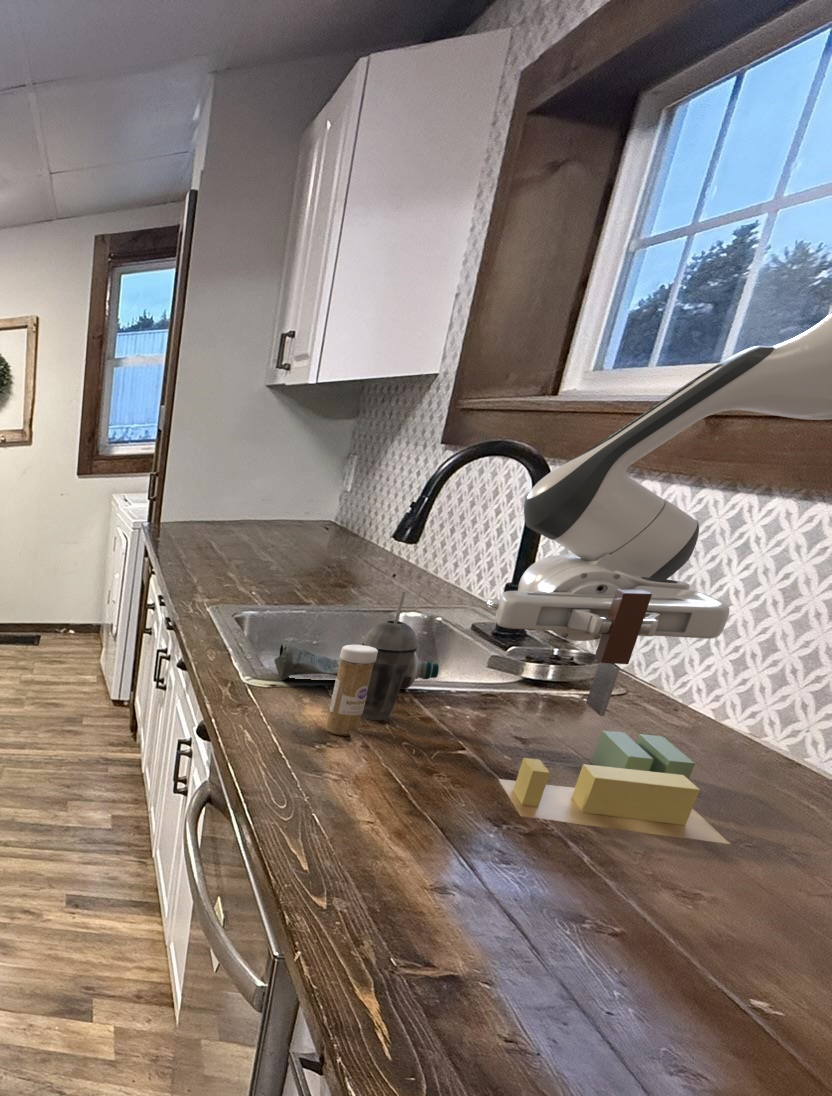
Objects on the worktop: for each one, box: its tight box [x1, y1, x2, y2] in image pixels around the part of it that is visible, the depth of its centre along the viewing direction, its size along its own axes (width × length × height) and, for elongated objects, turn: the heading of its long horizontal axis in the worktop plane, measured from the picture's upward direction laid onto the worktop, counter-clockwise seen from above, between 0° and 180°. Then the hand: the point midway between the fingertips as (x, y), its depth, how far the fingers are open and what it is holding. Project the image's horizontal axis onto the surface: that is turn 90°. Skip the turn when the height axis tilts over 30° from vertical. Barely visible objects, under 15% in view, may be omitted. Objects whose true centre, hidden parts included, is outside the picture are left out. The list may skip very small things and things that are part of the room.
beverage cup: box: [361, 591, 418, 721], centre depth 130 cm, size 7×7×20 cm
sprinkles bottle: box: [324, 644, 378, 737], centre depth 125 cm, size 5×5×13 cm
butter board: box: [497, 778, 731, 845], centre depth 98 cm, size 18×12×2 cm, turn 63°
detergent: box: [273, 641, 440, 690], centre depth 148 cm, size 13×7×25 cm
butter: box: [572, 763, 701, 825], centre depth 96 cm, size 9×4×4 cm, turn 63°
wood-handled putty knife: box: [585, 589, 652, 717], centre depth 94 cm, size 2×5×14 cm, turn 153°
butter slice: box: [513, 757, 551, 807], centre depth 100 cm, size 2×4×4 cm, turn 153°
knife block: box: [590, 730, 696, 780], centre depth 104 cm, size 6×10×6 cm, turn 153°
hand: (625, 627), depth 92 cm, fingers closed on wood-handled putty knife, 2 cm apart
